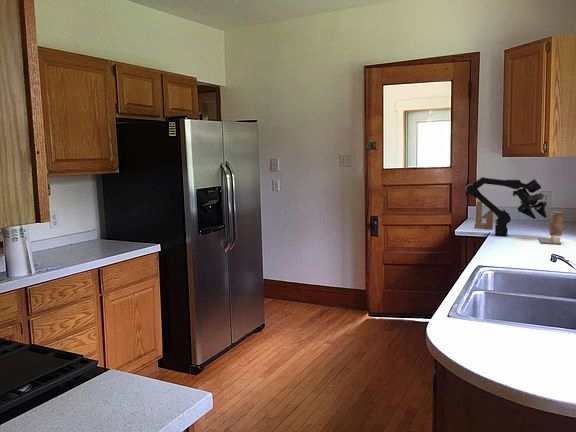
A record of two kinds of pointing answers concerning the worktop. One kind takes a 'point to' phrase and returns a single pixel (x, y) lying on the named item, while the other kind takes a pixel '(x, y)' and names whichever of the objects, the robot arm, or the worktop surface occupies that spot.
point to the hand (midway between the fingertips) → (540, 218)
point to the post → (556, 223)
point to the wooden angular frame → (479, 216)
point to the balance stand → (550, 240)
